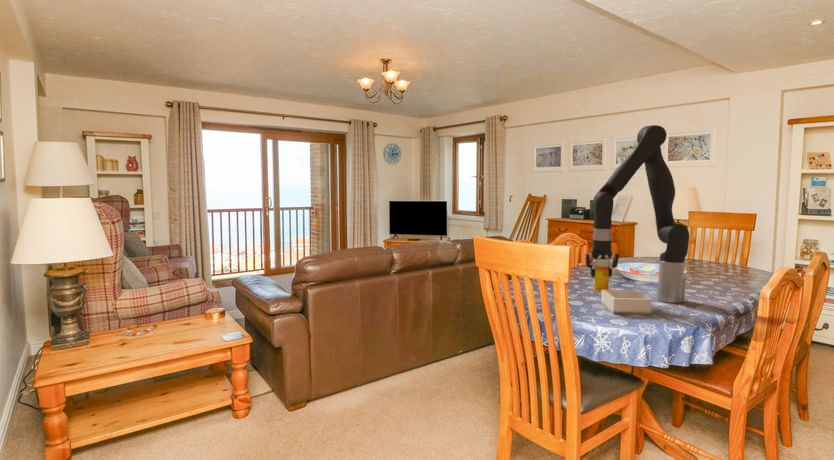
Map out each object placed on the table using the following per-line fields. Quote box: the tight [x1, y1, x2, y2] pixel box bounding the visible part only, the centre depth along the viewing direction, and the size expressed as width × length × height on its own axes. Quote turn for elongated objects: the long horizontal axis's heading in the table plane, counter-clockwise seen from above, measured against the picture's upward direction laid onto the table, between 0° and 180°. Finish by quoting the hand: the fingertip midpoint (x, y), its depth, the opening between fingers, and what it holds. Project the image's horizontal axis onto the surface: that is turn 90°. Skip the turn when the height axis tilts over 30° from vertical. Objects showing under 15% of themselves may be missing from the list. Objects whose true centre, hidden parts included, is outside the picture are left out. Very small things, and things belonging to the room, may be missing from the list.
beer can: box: [592, 258, 610, 294], centre depth 196 cm, size 6×6×15 cm
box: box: [600, 289, 652, 316], centre depth 181 cm, size 14×14×6 cm
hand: (601, 276), depth 196 cm, fingers closed on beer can, 6 cm apart
